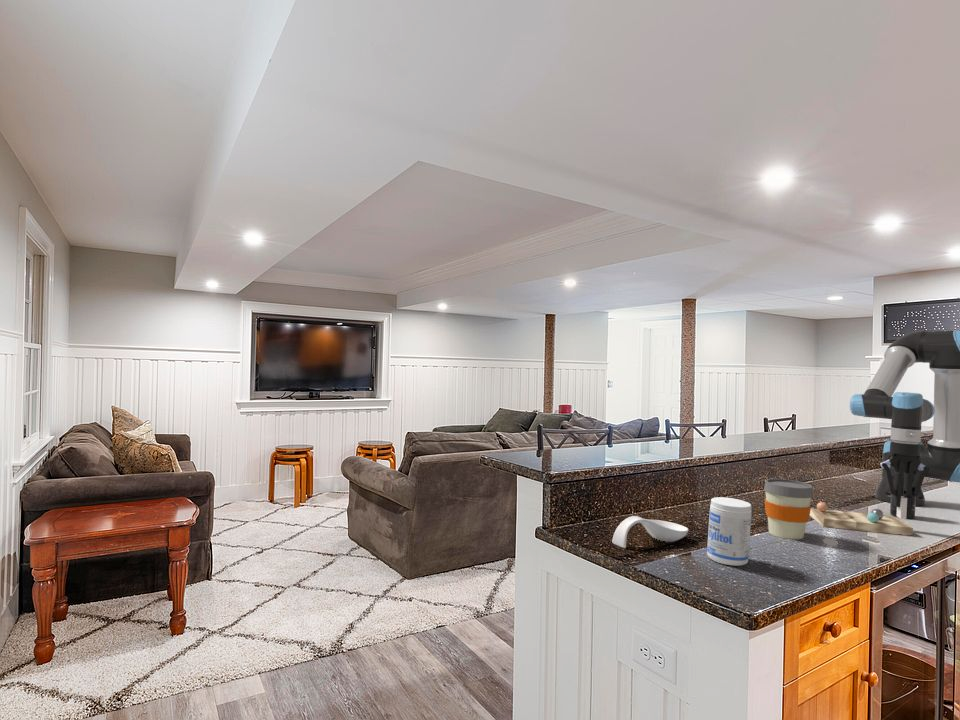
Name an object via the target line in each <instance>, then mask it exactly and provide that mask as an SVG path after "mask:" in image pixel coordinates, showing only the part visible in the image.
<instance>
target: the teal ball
mask: <svg viewBox="0 0 960 720" xmlns="http://www.w3.org/2000/svg"><path fill="white" fill-rule="evenodd" d="M867 514H868V515H867V519H868V520H869V521H870V522H873V523H875V522H877V521H878V520H879V516H878V515H877V514H876V513H873V512H869V513H867Z"/></svg>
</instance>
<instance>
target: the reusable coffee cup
mask: <svg viewBox="0 0 960 720" xmlns="http://www.w3.org/2000/svg"><path fill="white" fill-rule="evenodd" d="M763 491H764V492H765V498H764V507H765V509H764V510H765V515H766V517H767V524H768V525H767V526H768V532H769V534H771V535H772V536H775V537H777V538H782V539H789V540H802V539H804V537H805V531H806V527H807V523H808V522H809V520H810V510H811V508H812V504H811V502H812V498H813V496H814V492H813V485H811V484H809V483H807V482H803V481H798V480H791V479H787V478H786V479H784V478H767V479H765V482H764V488H763Z"/></svg>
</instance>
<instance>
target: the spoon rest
mask: <svg viewBox="0 0 960 720" xmlns="http://www.w3.org/2000/svg"><path fill="white" fill-rule="evenodd" d="M638 523H639V524H641V525H642V526H643V528H644V529H645V530H646V532H647V533H648V534H649V535H650V536H651V538H653V539H654V538H655V539H654V540H656V539H657V540H656V541H659V540H660V541H659V542H663V541H665V542H664V543H674V542H676V541H679V540H681V539H683V538H685V536H686V535H688V532H689V528H688V527H686V526H684V525H682V524H679V523H676V522H670V521H667V520H659V519H646V518H643V517H640V516H638V515H632V516H628V517H627V518H625V519H624V520H623V521H621V522H620V524H618V526H617V527H616V529H615V531H614V533H613V537H612V540H611V541H612V544H613V545H616V546H617V547H620V548H622V549H626V548H627V539H628V538H627V537H628V533H629V531H630V529H631V528H632V527H633V526H635V525H636V524H638Z"/></svg>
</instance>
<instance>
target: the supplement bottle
mask: <svg viewBox="0 0 960 720" xmlns="http://www.w3.org/2000/svg"><path fill="white" fill-rule="evenodd" d="M912 485H913V482H912ZM903 487H904V480H903V483H902V496H904V495H903ZM889 507H890V508H889V513H890V516H893V517H895V518H898V517H897V507H896V506H894V495H893V494H891V503H890V505H889ZM916 507H917V506H916V496H914V497H913V498H911V499H910V508H907V513H906V519H905V520H913V519H915V517H916Z"/></svg>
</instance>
